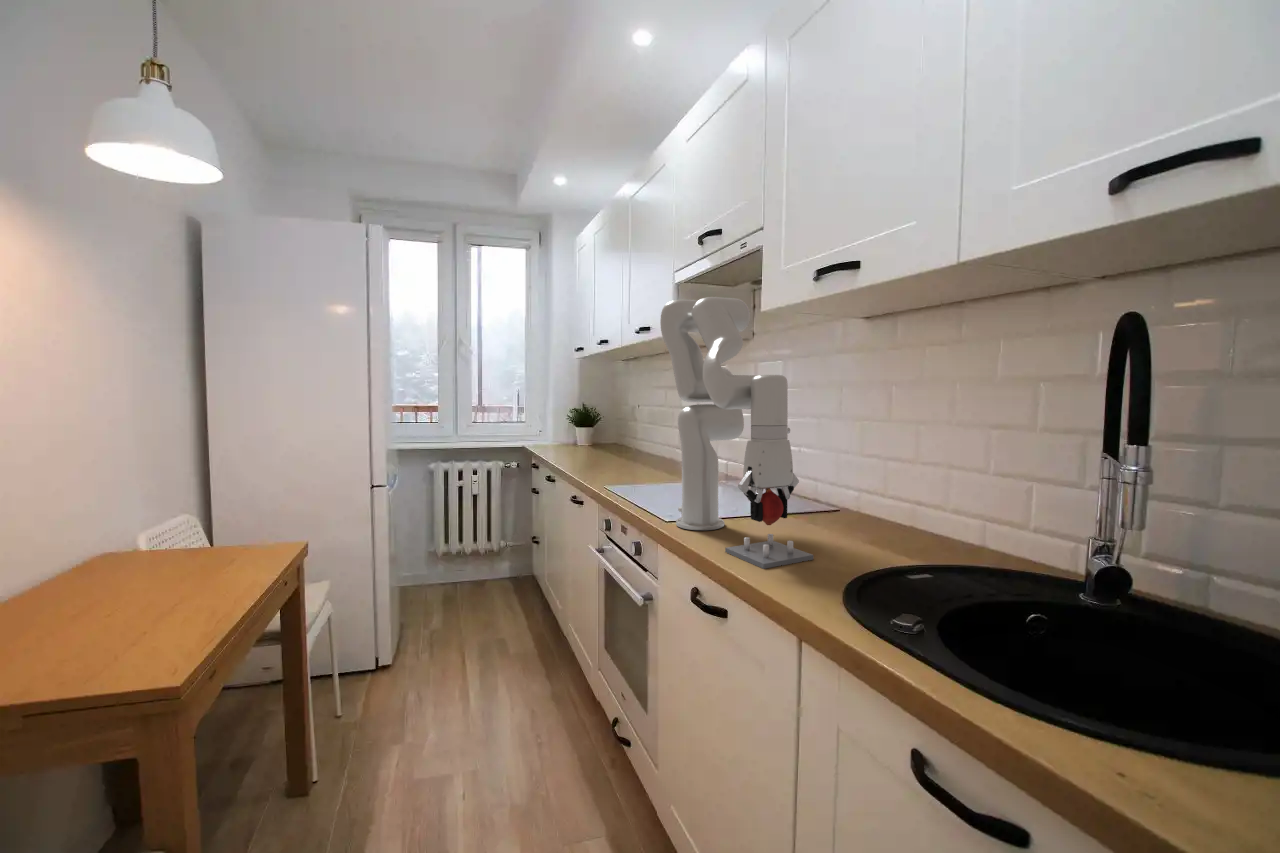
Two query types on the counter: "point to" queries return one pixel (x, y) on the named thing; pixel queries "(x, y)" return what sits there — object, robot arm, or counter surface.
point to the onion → (771, 507)
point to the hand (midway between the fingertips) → (769, 518)
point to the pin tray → (768, 553)
